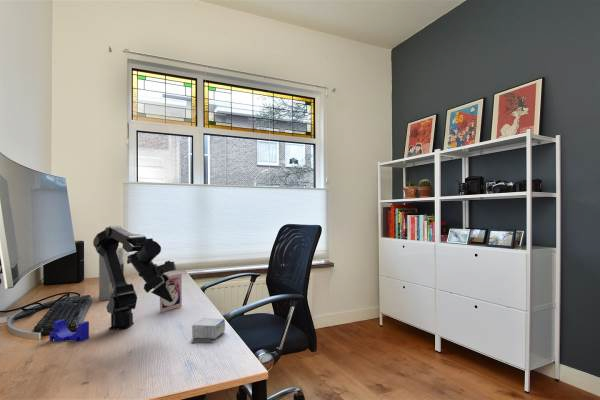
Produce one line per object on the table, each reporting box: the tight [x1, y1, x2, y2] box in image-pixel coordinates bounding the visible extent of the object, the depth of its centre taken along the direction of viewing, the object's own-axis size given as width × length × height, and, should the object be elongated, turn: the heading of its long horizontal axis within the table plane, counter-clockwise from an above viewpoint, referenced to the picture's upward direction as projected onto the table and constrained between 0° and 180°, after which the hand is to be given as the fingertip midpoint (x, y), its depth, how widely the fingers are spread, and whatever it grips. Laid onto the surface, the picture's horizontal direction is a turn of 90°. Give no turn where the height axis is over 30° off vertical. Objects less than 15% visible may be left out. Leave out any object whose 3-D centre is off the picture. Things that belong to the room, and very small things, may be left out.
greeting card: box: [159, 272, 183, 313], centre depth 152 cm, size 11×7×15 cm, turn 148°
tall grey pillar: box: [98, 247, 125, 301], centre depth 176 cm, size 14×6×25 cm, turn 179°
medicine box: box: [191, 317, 226, 340], centre depth 117 cm, size 8×4×9 cm
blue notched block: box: [49, 319, 90, 343], centre depth 116 cm, size 12×4×6 cm, turn 75°
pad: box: [191, 338, 213, 344], centre depth 117 cm, size 6×14×1 cm, turn 0°
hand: (171, 301), depth 120 cm, fingers closed
